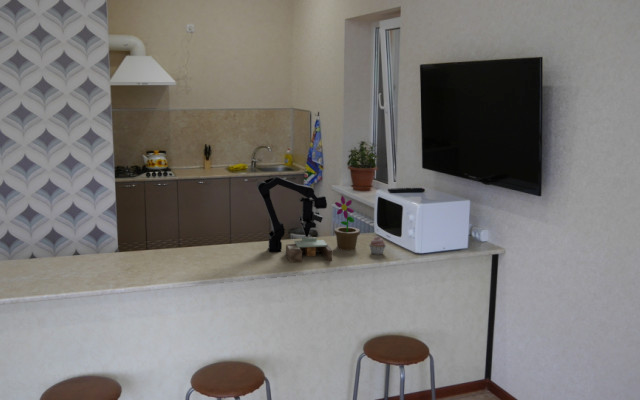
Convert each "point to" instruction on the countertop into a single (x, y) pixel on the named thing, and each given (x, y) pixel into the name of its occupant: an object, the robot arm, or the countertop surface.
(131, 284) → the countertop surface
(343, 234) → the flowerpot
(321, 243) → the sliding cover
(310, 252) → the block
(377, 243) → the cupcake
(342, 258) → the countertop surface
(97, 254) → the countertop surface
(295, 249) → the puzzle board
